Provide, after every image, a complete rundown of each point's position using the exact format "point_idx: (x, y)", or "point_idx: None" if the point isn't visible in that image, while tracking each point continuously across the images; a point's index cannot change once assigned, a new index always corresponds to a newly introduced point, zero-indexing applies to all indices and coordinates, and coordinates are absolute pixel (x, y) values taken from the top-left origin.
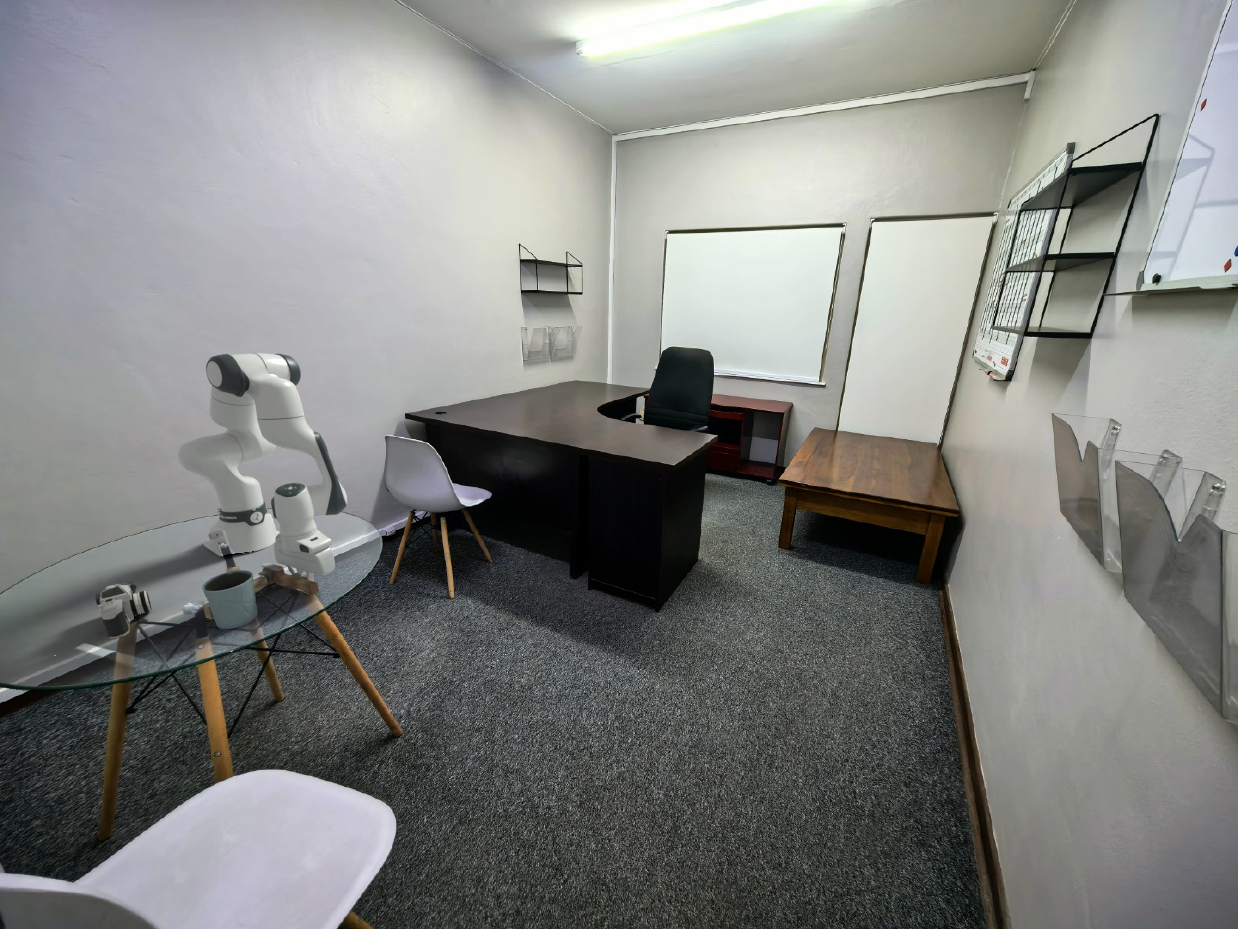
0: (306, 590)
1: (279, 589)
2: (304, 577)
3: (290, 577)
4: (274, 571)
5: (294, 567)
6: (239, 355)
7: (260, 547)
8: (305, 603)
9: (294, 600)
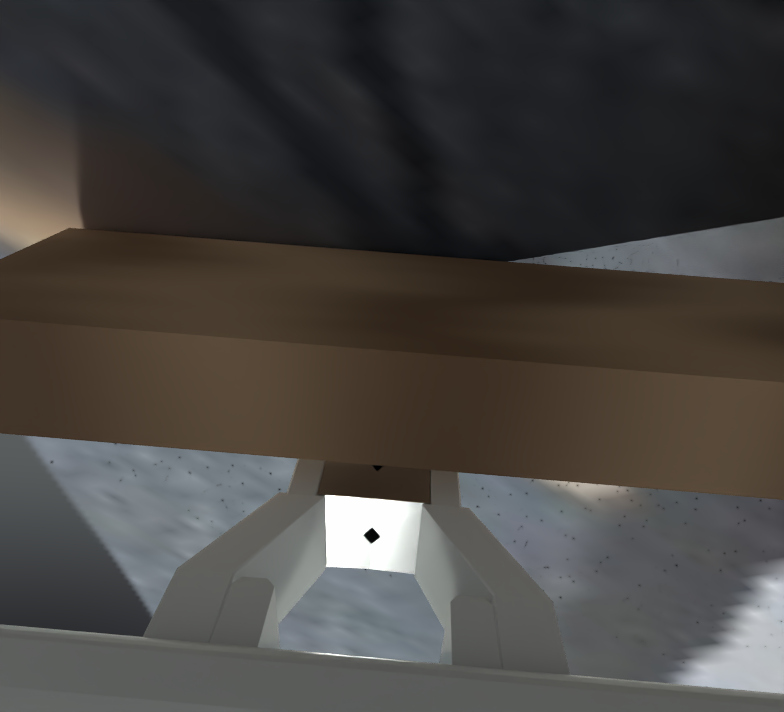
0: (120, 273)
1: (749, 268)
2: (370, 495)
3: (594, 432)
4: None
5: (553, 693)
6: None
7: None
8: (62, 108)
9: (284, 115)
